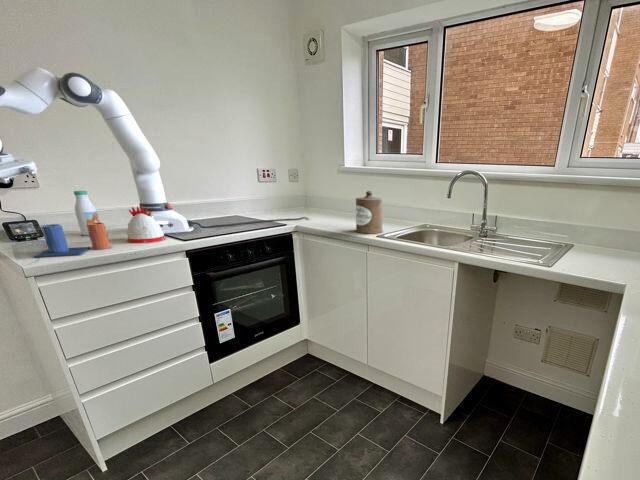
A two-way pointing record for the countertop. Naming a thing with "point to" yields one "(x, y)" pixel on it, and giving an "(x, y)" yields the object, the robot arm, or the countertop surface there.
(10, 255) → the countertop surface
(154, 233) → the white crested dome
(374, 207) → the wooden container
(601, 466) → the countertop surface
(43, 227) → the blue cup
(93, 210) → the milk bottle
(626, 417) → the countertop surface
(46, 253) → the blue mat
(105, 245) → the terracotta cup
